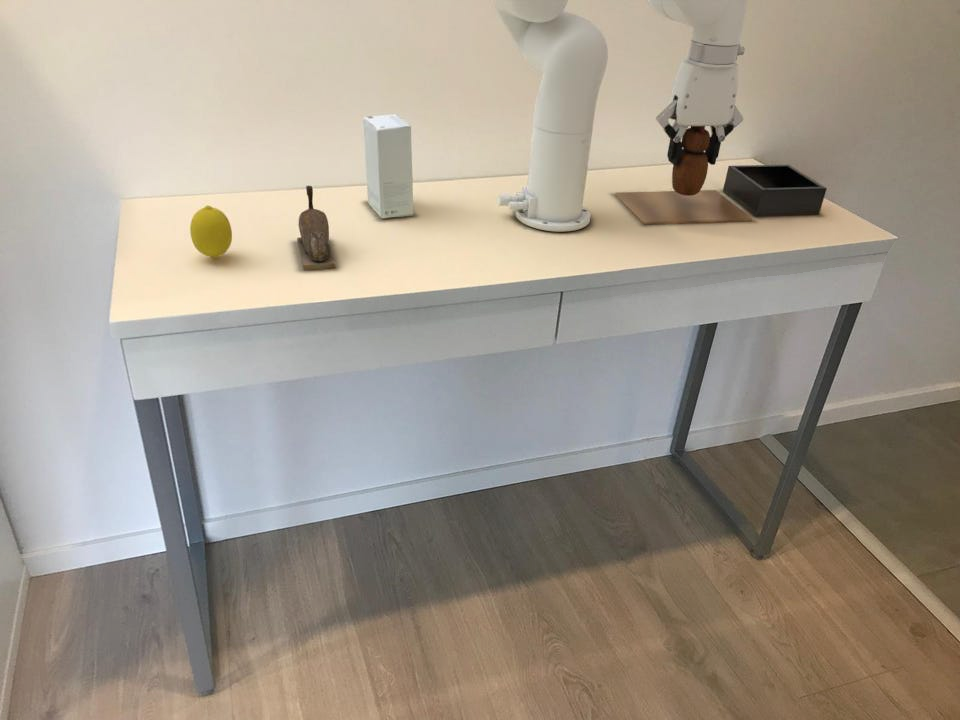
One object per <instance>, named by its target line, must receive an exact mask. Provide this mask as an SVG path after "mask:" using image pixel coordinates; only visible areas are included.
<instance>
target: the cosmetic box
mask: <svg viewBox="0 0 960 720" xmlns="http://www.w3.org/2000/svg"><path fill="white" fill-rule="evenodd" d="M362 121H363V137H364V138H363V139H364V155H365V156H364V158H365V174H366V175H365V176H366V193H367V203H368V205H369V206H370V207H371V208H372V209H373V210H374V212H375V213H376V214H377V215H378V216H379V218H380V219H389V218H402V217H410V216H411V217H412V216H414V189H413V187H414V186H413V156H412V155H413V154H412V152H413V151H412V125H410V124H409V123H408V122H407V121H405V120H404V119H403V118H401V117H400V116H399V115H398V114H396V113H393V114H392V113H391V114H382V115H381V114H380V115H371V116H364V117H363V118H362Z"/></svg>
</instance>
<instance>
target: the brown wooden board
mask: <svg viewBox="0 0 960 720" xmlns="http://www.w3.org/2000/svg"><path fill="white" fill-rule="evenodd" d="M615 196H616V197H617V198H618V199H619V200H620V201H621V202H622V203H623V204H624V205H625V206H626V207H627V208H628V209H629V210H630V211H631V212H632V213H633V214H634V215H635V217H636V218H637V219H638V220H639V221H640V222H641V223H642V224H643V225H666V224H667V225H668V224H669V225H670V224H699V223H700V224H701V223H727V222H732V223H733V222H752V219H753V218H752V217H750V216H749V215H748V214H746V213H745V212H744V211H743V210H741V209H740V208H739V207H738V206H736V205H735V204H734V203H732V202H731V201H730V200H729V199H728V198H726V197H725V196H724V195H723V194H721V193H720V192H719V191H718V190H716V189H709V190H707V189H706V190H703V189H701V190H700V191H699V192H698V193H697V194H695V195H692V196H686V195H681V194H679V193H677V192H676V191H675V190H666V191H665V190H663V191H623V192H621V191H620V192H615Z"/></svg>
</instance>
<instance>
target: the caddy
mask: <svg viewBox="0 0 960 720" xmlns="http://www.w3.org/2000/svg"><path fill="white" fill-rule="evenodd" d="M722 192H723V193H724V194H725V195H727V196H728V197H729V198H731V199H732V200H733V201H735V202H736V203H737V204H738V205H740V206H741V207H742V208H743V209H745V210H746V211H747V212H749V214H752V216H754V217H755V218H757V217H762V218H763V217H791V216H793V217H794V216H795V217H797V216H819V215H820V212H821V209H822V206H823V203H824V199H825V195H826V193H827V187H826V186H824V185H822V184H821V183H819V182H817V181H816V180H814V178H811V177H810V176H808V175H806V174H805V173H803V172H802V171H800V170H798V169H797V168H795V167H794V166H792V165H790V164H752V165H751V164H749V165H747V164H746V165H745V164H744V165H741V164H740V165H728V167H727V170H726V176H725V181H724V185H723V189H722Z"/></svg>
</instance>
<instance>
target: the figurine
mask: <svg viewBox="0 0 960 720" xmlns="http://www.w3.org/2000/svg"><path fill="white" fill-rule="evenodd" d="M305 190H306V196H307V199H308V208H307V209H305V210H304V211H301V213H300V214H299V216H298V230H299V234H300V237H297V238H296V240H297V241H296V243H297V246H298V251H299V255H300V259H301V264H302V268H303V271H310V270H324V269H335V268H336V262H335V259H334V256H333V252H332V249H331V246H330V225H329V220H328V217H327V214H326V213H325V212H324V211H322V210H320V209H316V208H314V204H313V200H314V199H313V198H314V191H313V186H312V185H306V186H305Z"/></svg>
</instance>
